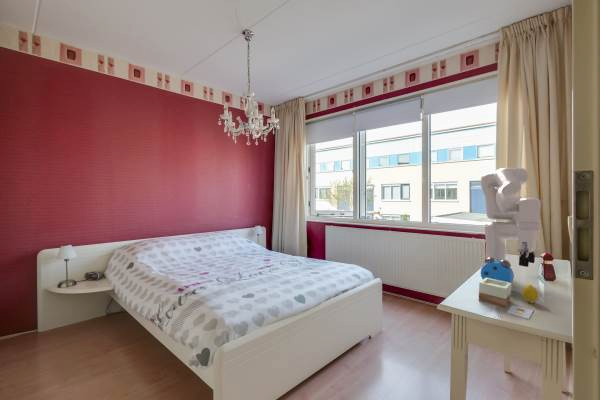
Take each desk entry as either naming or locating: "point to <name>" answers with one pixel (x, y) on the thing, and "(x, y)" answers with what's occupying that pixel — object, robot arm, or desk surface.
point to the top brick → (495, 287)
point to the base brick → (494, 300)
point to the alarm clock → (497, 270)
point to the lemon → (530, 293)
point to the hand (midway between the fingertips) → (526, 264)
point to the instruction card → (520, 312)
